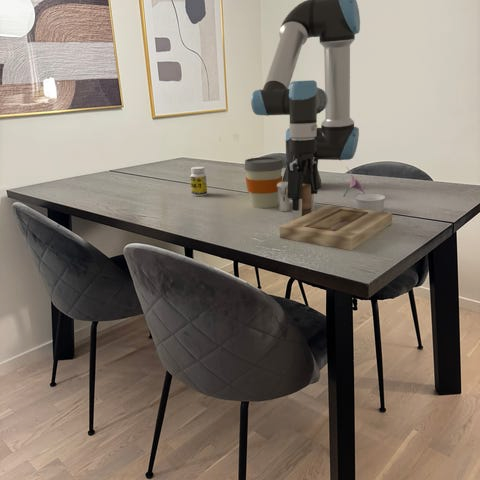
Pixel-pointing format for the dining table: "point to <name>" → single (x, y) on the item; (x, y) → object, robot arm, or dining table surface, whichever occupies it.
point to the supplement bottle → (198, 181)
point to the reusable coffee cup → (263, 180)
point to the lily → (355, 184)
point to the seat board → (343, 236)
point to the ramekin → (370, 202)
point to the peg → (306, 199)
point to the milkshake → (283, 196)
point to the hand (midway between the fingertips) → (303, 217)
